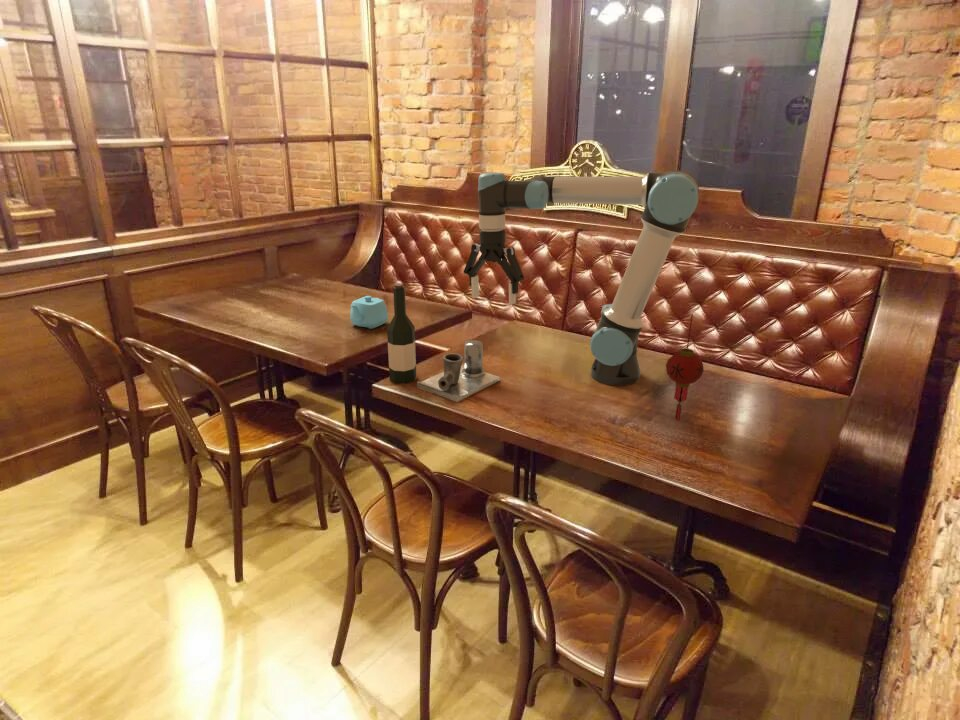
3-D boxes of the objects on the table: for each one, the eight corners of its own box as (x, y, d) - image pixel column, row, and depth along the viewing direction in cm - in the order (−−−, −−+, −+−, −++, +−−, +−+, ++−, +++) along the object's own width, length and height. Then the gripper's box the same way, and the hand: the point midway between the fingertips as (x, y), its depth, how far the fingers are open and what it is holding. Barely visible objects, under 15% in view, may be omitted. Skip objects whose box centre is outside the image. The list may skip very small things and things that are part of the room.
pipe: (433, 390, 179) (434, 364, 176) (446, 376, 191) (447, 351, 188) (453, 393, 178) (454, 367, 175) (465, 378, 189) (466, 354, 187)
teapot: (339, 330, 234) (337, 301, 230) (368, 317, 249) (367, 289, 245) (365, 335, 229) (363, 305, 225) (394, 321, 244) (392, 293, 239)
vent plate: (500, 379, 192) (501, 346, 187) (457, 402, 177) (456, 366, 172) (461, 367, 201) (461, 334, 197) (417, 387, 186) (415, 352, 182)
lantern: (652, 419, 168) (665, 313, 156) (670, 408, 174) (684, 306, 163) (684, 431, 161) (700, 322, 150) (702, 419, 167) (718, 314, 156)
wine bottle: (391, 385, 187) (386, 289, 176) (387, 374, 195) (382, 282, 184) (418, 382, 189) (415, 287, 178) (414, 372, 197) (410, 280, 186)
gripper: (536, 230, 173) (535, 303, 181) (465, 224, 187) (468, 292, 195) (521, 234, 167) (521, 309, 175) (450, 227, 181) (453, 297, 189)
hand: (493, 300), depth 185 cm, fingers open, 13 cm apart
